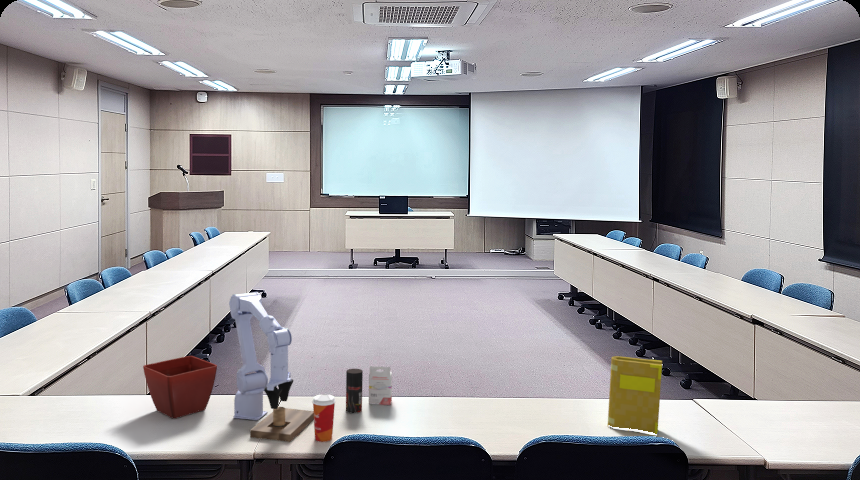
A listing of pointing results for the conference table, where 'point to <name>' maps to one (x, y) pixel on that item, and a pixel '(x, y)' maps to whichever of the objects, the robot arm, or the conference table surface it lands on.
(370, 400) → the ink cartridge box
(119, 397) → the conference table surface
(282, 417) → the peg
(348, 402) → the deodorant
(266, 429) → the socket board
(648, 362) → the book
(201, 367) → the plant pot
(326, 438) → the paper cup
